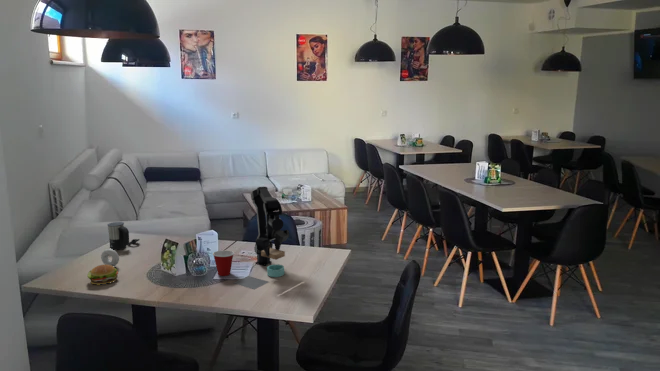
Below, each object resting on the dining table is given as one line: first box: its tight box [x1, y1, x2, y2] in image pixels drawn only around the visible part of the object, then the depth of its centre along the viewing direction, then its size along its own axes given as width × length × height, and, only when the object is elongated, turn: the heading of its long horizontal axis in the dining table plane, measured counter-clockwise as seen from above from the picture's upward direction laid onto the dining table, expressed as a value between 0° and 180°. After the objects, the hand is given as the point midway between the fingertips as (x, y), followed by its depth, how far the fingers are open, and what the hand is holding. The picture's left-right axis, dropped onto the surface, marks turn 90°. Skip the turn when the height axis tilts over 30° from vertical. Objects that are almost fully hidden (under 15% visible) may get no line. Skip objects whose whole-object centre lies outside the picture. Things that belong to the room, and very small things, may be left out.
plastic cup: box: [212, 250, 235, 277], centre depth 250 cm, size 11×11×12 cm
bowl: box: [266, 263, 285, 278], centre depth 250 cm, size 8×8×4 cm
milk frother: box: [107, 221, 140, 250], centre depth 296 cm, size 14×16×15 cm
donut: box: [100, 248, 120, 267], centre depth 262 cm, size 10×4×10 cm, turn 78°
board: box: [261, 247, 286, 261], centre depth 247 cm, size 10×6×2 cm, turn 55°
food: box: [87, 264, 119, 286], centre depth 243 cm, size 14×14×8 cm
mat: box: [233, 275, 269, 290], centre depth 240 cm, size 14×11×1 cm
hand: (272, 254), depth 247 cm, fingers closed on board, 6 cm apart
